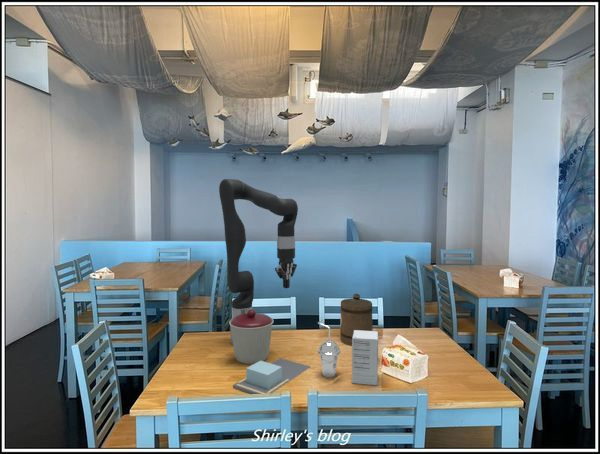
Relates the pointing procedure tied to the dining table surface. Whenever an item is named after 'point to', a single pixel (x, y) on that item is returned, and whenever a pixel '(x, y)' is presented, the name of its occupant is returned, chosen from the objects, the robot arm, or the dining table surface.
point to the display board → (288, 373)
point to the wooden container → (354, 317)
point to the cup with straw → (328, 356)
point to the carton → (264, 374)
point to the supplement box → (365, 357)
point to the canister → (251, 336)
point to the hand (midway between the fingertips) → (286, 287)
